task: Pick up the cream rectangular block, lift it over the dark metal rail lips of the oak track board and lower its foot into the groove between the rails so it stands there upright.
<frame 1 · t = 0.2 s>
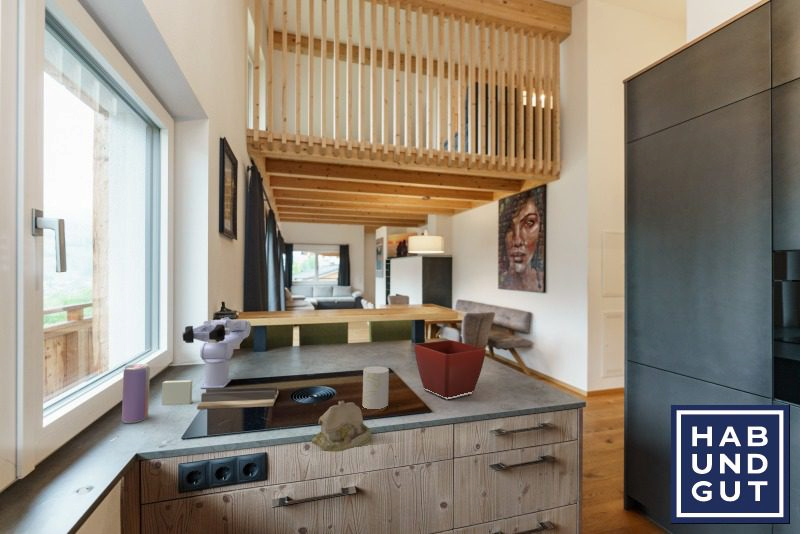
hand: (197, 336, 114), 21 cm above the worktop, tool horizontal, fingers open, 7 cm apart
cream rectangular block: (176, 403, 114), on the worktop
white cylinder: (375, 408, 114), on the worktop
ceramic model: (341, 441, 91), on the worktop
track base: (240, 400, 117), on the worktop
beverage can: (135, 420, 101), on the worktop
plant pot: (448, 393, 130), on the worktop
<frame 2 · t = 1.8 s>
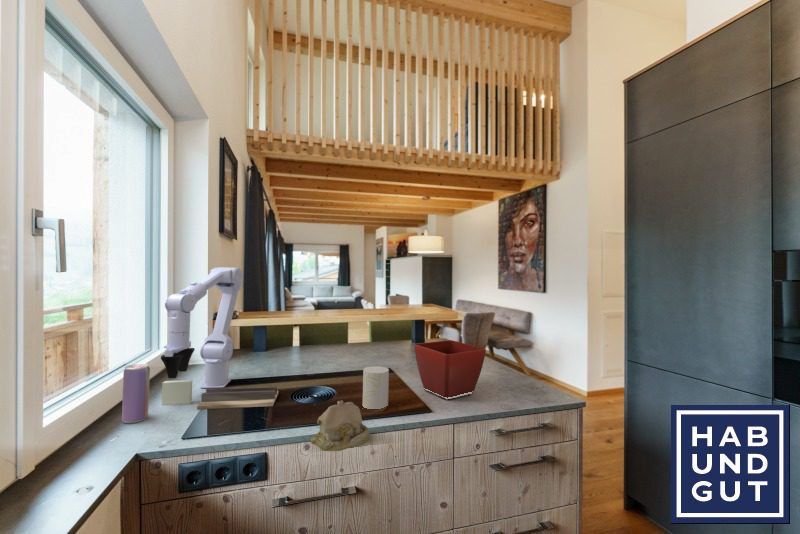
hand: (177, 374, 114), 9 cm above the worktop, tool pointing down, fingers open, 7 cm apart
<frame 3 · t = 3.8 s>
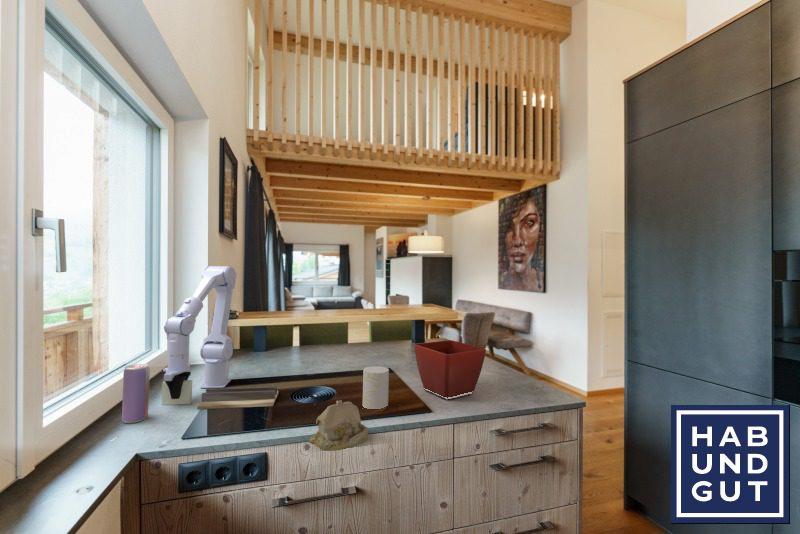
hand: (177, 397, 114), 2 cm above the worktop, tool pointing down, fingers closed on cream rectangular block, 2 cm apart
cream rectangular block: (176, 403, 114), on the worktop, touching gripper
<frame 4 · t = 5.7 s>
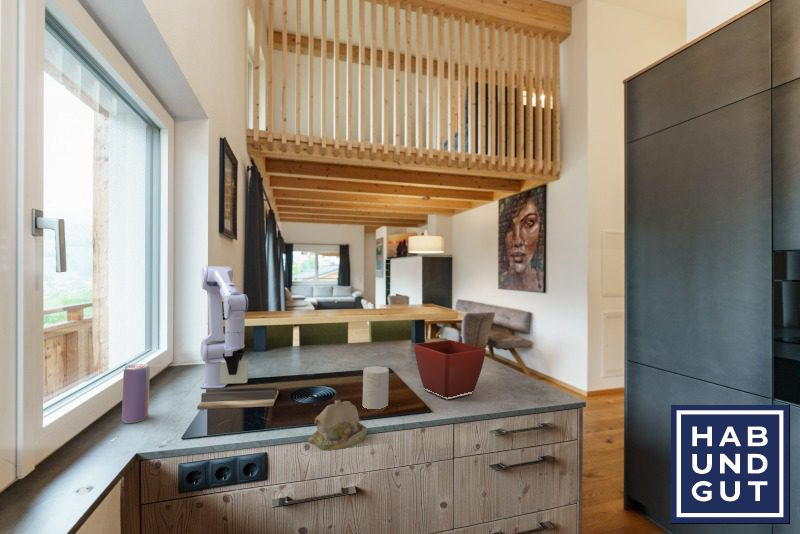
hand: (233, 373, 117), 9 cm above the worktop, tool pointing down, fingers closed on cream rectangular block
cream rectangular block: (233, 382, 117), point 6 cm above the worktop, touching gripper
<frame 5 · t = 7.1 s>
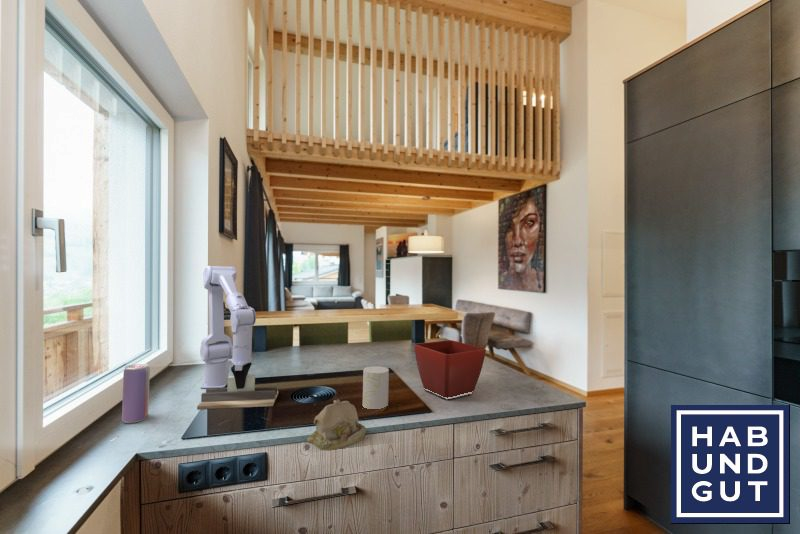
hand: (241, 387, 117), 4 cm above the worktop, tool pointing down, fingers closed on cream rectangular block, 2 cm apart
cream rectangular block: (240, 397, 117), point 1 cm above the worktop, touching gripper, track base
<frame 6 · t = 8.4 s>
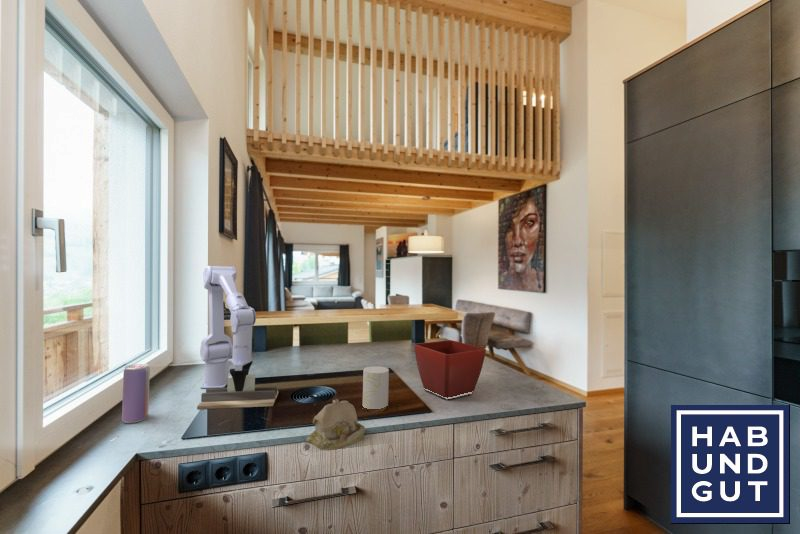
hand: (241, 387, 117), 4 cm above the worktop, tool pointing down, fingers open, 7 cm apart
cream rectangular block: (240, 397, 117), point 1 cm above the worktop, touching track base
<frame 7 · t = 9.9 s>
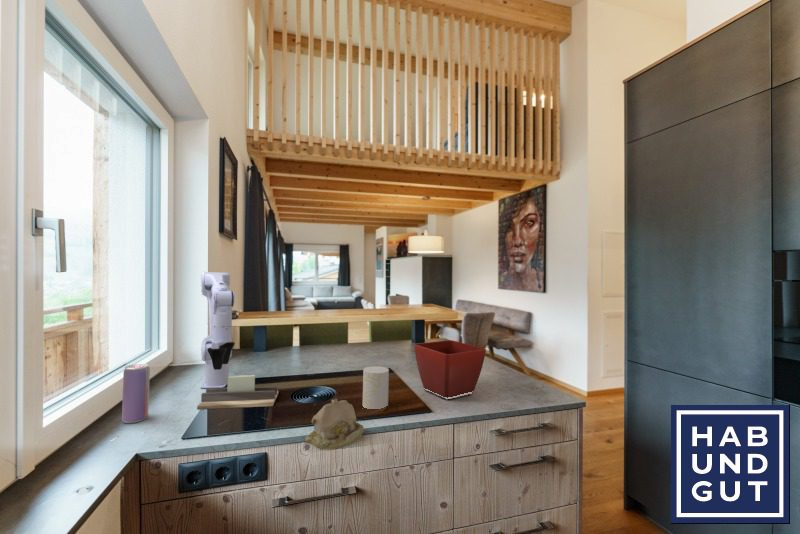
hand: (221, 366, 121), 10 cm above the worktop, tool pointing down, fingers open, 7 cm apart
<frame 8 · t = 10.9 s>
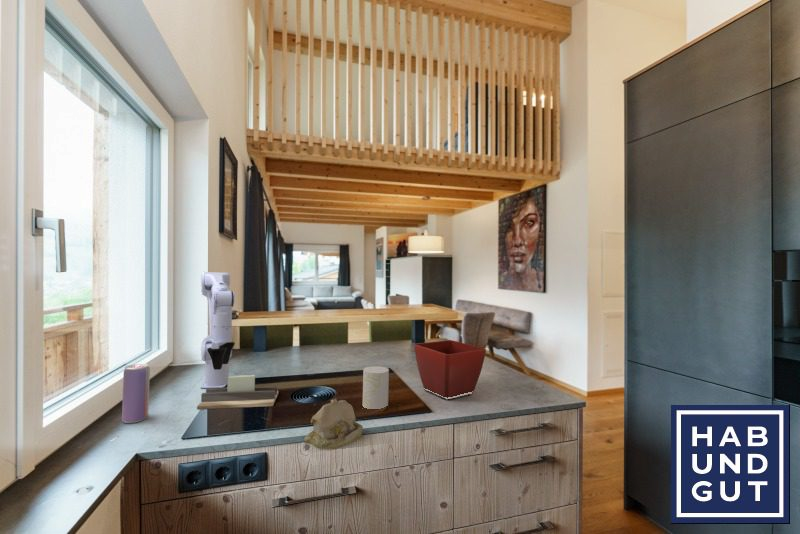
hand: (221, 366, 121), 10 cm above the worktop, tool pointing down, fingers open, 7 cm apart
at the end: cream rectangular block inside the target area on the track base (0.1 cm from its centre), point 1.0 cm above the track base's base; cream rectangular block tilted 0°; the gripper is holding nothing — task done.
